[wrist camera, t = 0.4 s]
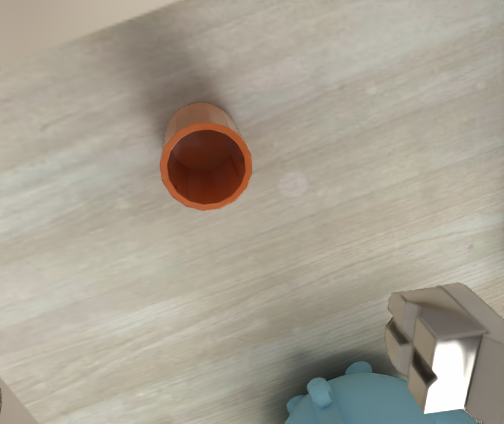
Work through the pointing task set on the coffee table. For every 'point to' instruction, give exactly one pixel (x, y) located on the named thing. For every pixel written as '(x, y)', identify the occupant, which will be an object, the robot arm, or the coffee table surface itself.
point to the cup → (204, 157)
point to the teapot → (364, 402)
